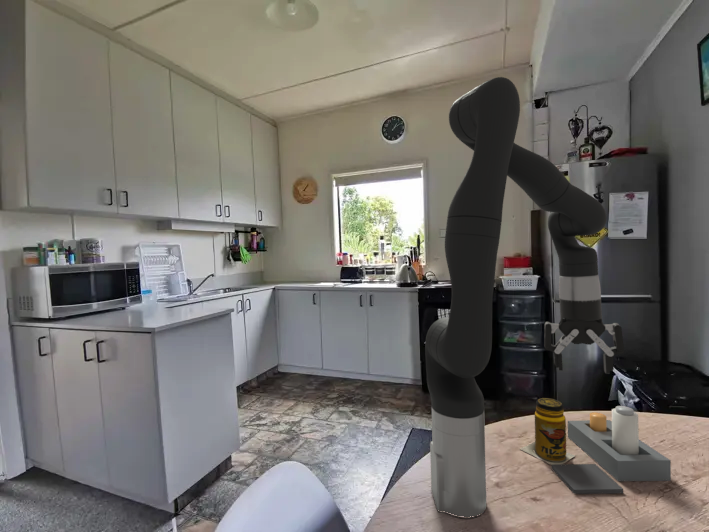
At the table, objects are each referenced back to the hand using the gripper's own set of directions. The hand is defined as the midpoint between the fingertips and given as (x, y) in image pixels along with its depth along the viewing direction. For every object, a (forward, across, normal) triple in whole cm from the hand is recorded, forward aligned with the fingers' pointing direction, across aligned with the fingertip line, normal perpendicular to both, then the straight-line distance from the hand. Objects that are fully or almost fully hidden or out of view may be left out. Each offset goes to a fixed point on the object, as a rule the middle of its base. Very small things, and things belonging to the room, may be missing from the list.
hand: (583, 371), depth 76 cm
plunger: (+18, +3, +7) cm, 19 cm away
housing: (+19, +5, +2) cm, 20 cm away
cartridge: (+19, +6, -1) cm, 20 cm away
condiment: (+19, -8, -1) cm, 21 cm away
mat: (+19, -2, -9) cm, 21 cm away
